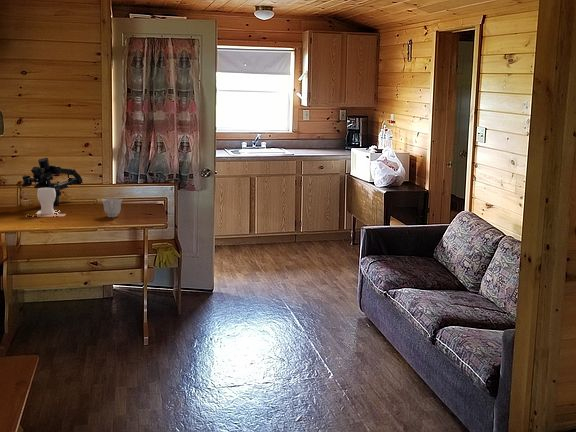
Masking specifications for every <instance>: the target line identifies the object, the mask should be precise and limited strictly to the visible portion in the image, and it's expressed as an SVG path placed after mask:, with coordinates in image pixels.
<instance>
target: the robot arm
mask: <svg viewBox="0 0 576 432" xmlns="http://www.w3.org/2000/svg"><path fill="white" fill-rule="evenodd" d="M37 162H38V166H33V167H32V169H31V170H30V171H31V173H32V174H33V175H32V177H31V176H30V175H25V174H24V175H23V176H22V183H21V188H26V187H30V186H31V185H32V184H33V183H35V185H34V186H33V188H34V189H39V188H55V192H56V198H55V201H54V203H53V207H54V206H55V207H57V206H61V204H60V200H59V199H60V196H61V195H62V192H61V190H65V189H68V188H69V187H68V186H67V185H72V184H81V183H82V184H84V183H83V182H84V181H83V178H82V176H81V175H80V174H79V173H78V172H77V171H76V169H74V168H63V167H60V166H59V165H50V160H49V158H48V157H44V158H39V159H38V160H37ZM58 175H67V178H69V175H71V176H72V177H75V178H69V179H67V180H65V181H62V182H51V181H53V180H54V176H58ZM82 181H83V182H82Z"/></svg>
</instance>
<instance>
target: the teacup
mask: <svg viewBox="0 0 576 432" xmlns="http://www.w3.org/2000/svg"><path fill="white" fill-rule="evenodd" d="M101 201H102V203H103V211H104V213H105V214H106V215H107V217H108V218H116V217H118V215H119V214H120V212H121V207H122V202H123V198H117V197H116V198H114V197H111V198H103V199H101Z"/></svg>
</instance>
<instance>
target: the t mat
mask: <svg viewBox="0 0 576 432" xmlns="http://www.w3.org/2000/svg"><path fill="white" fill-rule="evenodd" d="M57 210H59V209H54V213H57V215H56V214H54V213H53V214H41V210H38V211H37V212H36V213H35V214H37V217H36V218H49V217H52V218H54V217H56V216H58V217H59V218H61V217H65V216H66V215H67V214H66V213H61V211H60V210H59V211H58V212H59V213H58V212H55V211H57ZM41 215H42V216H41ZM53 216H54V217H53ZM25 218H28V217H27V215H26V216H25ZM31 218H35V217H34V215H33V216H32V217H31Z"/></svg>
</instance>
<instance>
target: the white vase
mask: <svg viewBox="0 0 576 432" xmlns="http://www.w3.org/2000/svg"><path fill="white" fill-rule="evenodd" d="M36 195H37V200H38V202H39V203H40V211H41V214H53V213H54V210H55V209H54V206H53V203H54V201H55V198H56V192H55V188H37V193H36Z"/></svg>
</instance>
